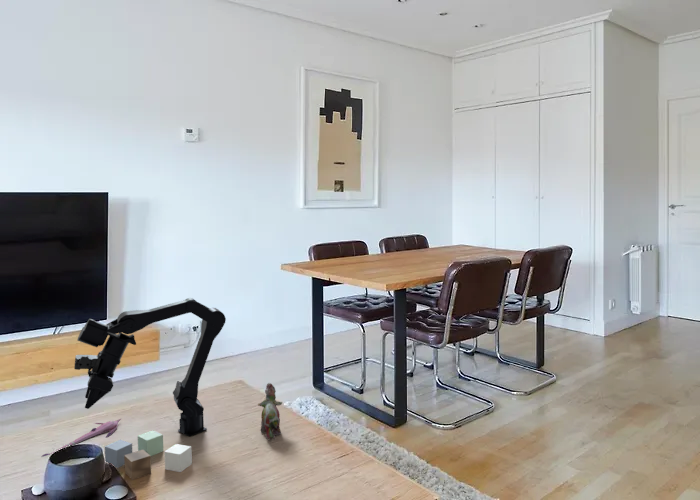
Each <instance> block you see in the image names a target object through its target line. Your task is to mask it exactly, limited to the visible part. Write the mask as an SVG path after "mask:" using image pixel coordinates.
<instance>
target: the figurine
mask: <svg viewBox="0 0 700 500" xmlns="http://www.w3.org/2000/svg"><path fill="white" fill-rule="evenodd" d="M264 394H265V399H264V400H263V401H261V402H259V403H257V406H258V407H262V408H263V409H262V412H261V421H260V422H261V424H260V433H261V434H266V435H265V439H266V440H270V439H276V436H280V435H281V433H282V430H281V428H280V423H281V422H280V421H281V418H280V417H281V416H280V415H281V414H280V411H279V409H278V407H279V406H281V405H282V404H283V401H279V400H278V401H277V400H276V388H275V386H274V385H273V384H272V383H271V382H268V383H267V384H266V387H265V390H264ZM277 406H278V407H277Z"/></svg>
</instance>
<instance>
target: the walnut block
mask: <svg viewBox="0 0 700 500" xmlns="http://www.w3.org/2000/svg"><path fill="white" fill-rule="evenodd" d="M151 457H152V456H150V455H149V454H148V453H147V452H145V451H144V450H140V451H138V450H137V451H134V452H133V451H132V453H130V454H127V455H124V461H125V465H124V473H125V475H126V476H128V477H129V478H130V480H131V481H133V480H137V479H139V478H140V479H141V478H142V477H145V476H148V475H151V474H152V461H151Z"/></svg>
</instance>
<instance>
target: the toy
mask: <svg viewBox="0 0 700 500" xmlns="http://www.w3.org/2000/svg"><path fill="white" fill-rule="evenodd" d="M121 420H122V418H120V419H117V420H112V421H111V420H110V421H106V422H94V424H95V425H99V426H97V427H93V428H92V429H91V430H90V431H89V432H87V433H85V434H83V435H81V436H80V437H78V438H76V439H75V440H72V441H70V442H68V443H67V444H65V445H63V446H62V447H60V448H57V450H59V449H61V448H64V447H66V446H69V445H72V446H75V445H77V444H78V443H81V442H83V441H85V440H88V439H91V438H93V437H95V436H98V435H101V434H103V433H104V434H105V433H107V435H106V436H105V438H109V437H110V436H112V435H113V434H114V433H115V432H116V430H117V429H118V425H119V422H120V421H121ZM57 450H54V451H53V452H51V453H45V454H42V455H41V458H43V457H46V456H50V455H53V454H55V453H54V452H55V451H57ZM52 453H53V454H52Z"/></svg>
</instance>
